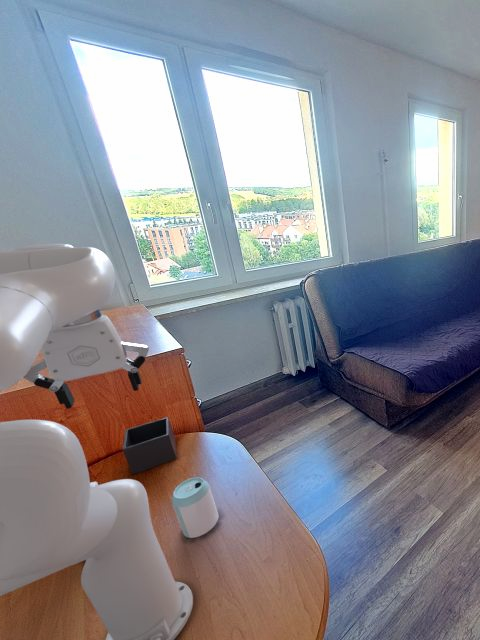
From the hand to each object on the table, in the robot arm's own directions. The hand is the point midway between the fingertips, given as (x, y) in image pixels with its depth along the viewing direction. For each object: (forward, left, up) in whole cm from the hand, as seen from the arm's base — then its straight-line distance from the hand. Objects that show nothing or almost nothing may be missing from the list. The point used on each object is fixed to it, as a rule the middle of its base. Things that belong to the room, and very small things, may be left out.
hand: (105, 396), depth 65 cm
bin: (+27, +1, -36) cm, 45 cm away
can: (-7, -8, -36) cm, 37 cm away
